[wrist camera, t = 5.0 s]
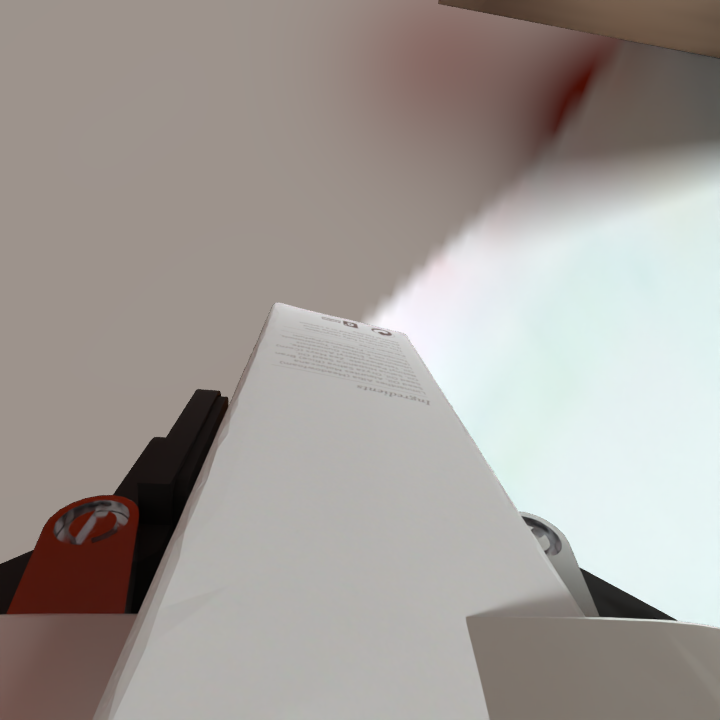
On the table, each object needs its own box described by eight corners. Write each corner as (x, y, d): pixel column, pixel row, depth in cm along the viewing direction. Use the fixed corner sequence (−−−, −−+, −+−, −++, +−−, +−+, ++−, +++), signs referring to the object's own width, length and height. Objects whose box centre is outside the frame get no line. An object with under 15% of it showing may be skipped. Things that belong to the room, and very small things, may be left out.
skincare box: (270, 297, 13) (-60, 986, 2) (407, 330, 14) (855, 955, 2) (233, 471, 15) (-41, 1363, 3) (356, 492, 15) (466, 1276, 4)
